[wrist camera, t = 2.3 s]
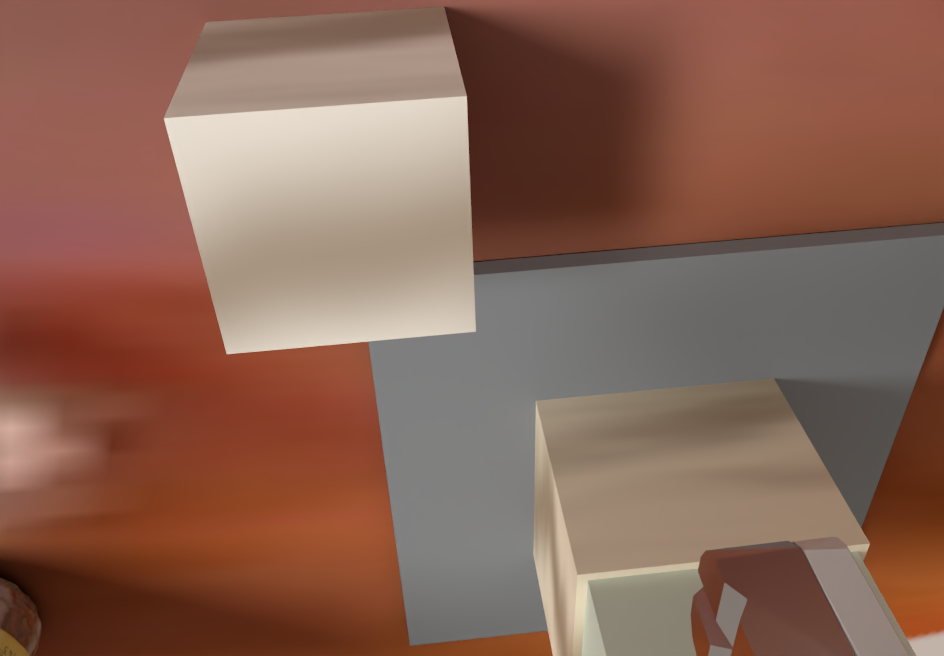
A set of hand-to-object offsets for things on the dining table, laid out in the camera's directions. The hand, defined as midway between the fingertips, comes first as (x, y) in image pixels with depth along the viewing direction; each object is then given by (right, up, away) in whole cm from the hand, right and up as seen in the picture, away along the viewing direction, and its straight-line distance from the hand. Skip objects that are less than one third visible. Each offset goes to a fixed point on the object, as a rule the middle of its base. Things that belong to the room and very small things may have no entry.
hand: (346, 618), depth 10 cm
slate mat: (+7, -1, +18) cm, 19 cm away
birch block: (+7, -1, +17) cm, 19 cm away
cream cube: (-2, +8, +10) cm, 13 cm away
